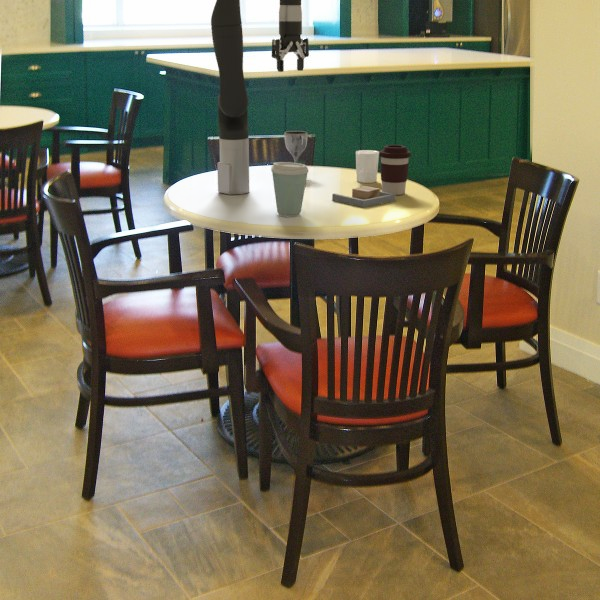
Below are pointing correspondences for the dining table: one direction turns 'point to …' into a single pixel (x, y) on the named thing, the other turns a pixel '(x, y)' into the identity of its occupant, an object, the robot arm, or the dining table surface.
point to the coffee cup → (394, 168)
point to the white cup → (367, 165)
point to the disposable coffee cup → (289, 187)
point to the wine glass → (295, 143)
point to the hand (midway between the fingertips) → (290, 71)
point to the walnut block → (365, 192)
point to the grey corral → (365, 203)
